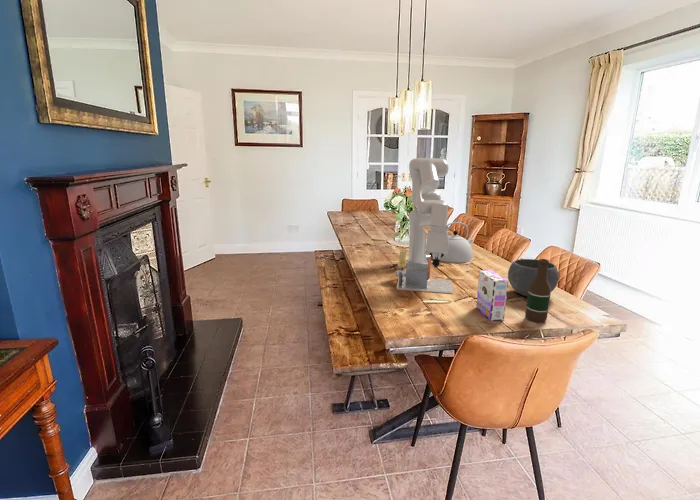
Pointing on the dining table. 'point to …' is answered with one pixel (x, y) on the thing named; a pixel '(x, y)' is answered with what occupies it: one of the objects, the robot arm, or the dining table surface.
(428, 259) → the lynch pin
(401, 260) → the plate
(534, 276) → the bowl
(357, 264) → the dining table surface
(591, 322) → the dining table surface
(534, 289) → the beer bottle
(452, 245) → the kettle
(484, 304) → the candy box
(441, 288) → the hitch block
